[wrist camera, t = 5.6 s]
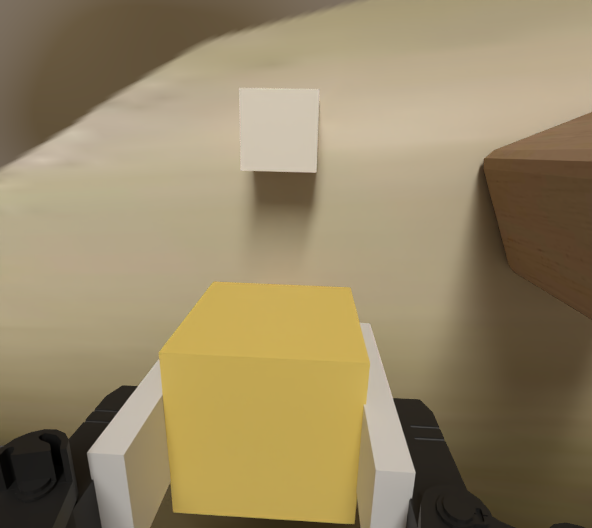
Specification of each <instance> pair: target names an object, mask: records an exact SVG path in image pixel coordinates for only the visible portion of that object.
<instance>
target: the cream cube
mask: <svg viewBox="0 0 592 528" xmlns="http://www.w3.org/2000/svg"><path fill="white" fill-rule="evenodd" d="M319 94H320V89H287V88H239V111H240V165H241V171H276V172H312V173H316V171H317V149H318V123H319Z"/></svg>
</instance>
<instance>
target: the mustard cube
mask: <svg viewBox="0 0 592 528" xmlns="http://www.w3.org/2000/svg"><path fill="white" fill-rule="evenodd" d="M159 361H160V372H161V383H162V394H163V405H164V416H165V427H166V438H167V448H168V458H169V468H170V478H171V493H172V504H173V512H175V513H190V514H205V515H220V516H236V517H251V518H266V519H281V520H297V521H312V522H327V523H342V524H354V523H355V513H356V503H357V492H356V490H357V478H358V466H359V455H360V443H361V431H362V420H363V408H364V404H366V401H367V391H368V380H369V370H370V360H369V357H368V353H367V349H366V345H365V342H364V338H363V334H362V330H361V326H360V323H359V319H358V315H357V311H356V307H355V304H354V300H353V296H352V292H351V288H349V287H325V286H301V285H278V284H254V283H231V282H213V283H212V284H211V285H210V287H209V288H208V289H207V291H206V292H205V293H204V294H203V296H202V297H201V298H200V300H199V301H198V302H197V304H196V305H195V306H194V307H193V309H192V310H191V311H190V313H189V314H188V315H187V317H186V318H185V319H184V320H183V322H182V323H181V324H180V326H179V327H178V328H177V330H176V331H175V332H174V333H173V335H172V336H171V337H170V339H169V340H168V341H167V343H166V344H165V345H164V346H163V348H162V349H161V350H160V352H159Z"/></svg>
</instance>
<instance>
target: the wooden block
mask: <svg viewBox="0 0 592 528" xmlns="http://www.w3.org/2000/svg"><path fill="white" fill-rule="evenodd" d="M483 168H484V172H485V176H486V180H487V184H488V188H489V192H490V195H491V199H492V203H493V207H494V211H495V214H496V218H497V222H498V226H499V230H500V233H501V237H502V241H503V245H504V249H505V252H506V256H507V260H508V264H509V266H510V268H511V269H512V270H513V271H514V272H515V273H516V274H518V275H520V276H521V277H523V278H524V279H526V280H528V281H529V282H531V283H533V284H534V285H536V286H538V287H539V288H541V289H543V290H544V291H546V292H547V293H549V294H551V295H552V296H554V297H556V298H557V299H559V300H561V301H562V302H564V303H566V304H567V305H569V306H570V307H572V308H574V309H575V310H577V311H579V312H580V313H582V314H584V315H585V316H587V317H588V318H590V319H592V112H591V113H589V114H586V115H584V116H581V117H578V118H576V119H573V120H571V121H568V122H566V123H563V124H560V125H558V126H555V127H553V128H550V129H548V130H545V131H542V132H540V133H537V134H535V135H532V136H530V137H527V138H525V139H522V140H519V141H517V142H514V143H512V144H509V145H507V146H504V147H501V148H499V149H496V150H494V151H493V152H492V153H490V154H489V155H488V156H487V157H486V158H485V159H484V167H483Z"/></svg>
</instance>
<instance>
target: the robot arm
mask: <svg viewBox="0 0 592 528" xmlns="http://www.w3.org/2000/svg"><path fill="white" fill-rule="evenodd" d="M360 326H361V330H362V334H363V338H364V342H365V345H366V349H367V353H368V357H369V360H370V370H369V380H368V391H367V401H366V404H364V408H363V420H362V431H361V443H360V455H359V466H358V478H357V490H356V492H357V501H358V510H359V518H360V527H361V528H515V527H512V526H510V525H507V524H505V523H503V522H501V521H499V520H497V519H496V518H494V517H492V515H491V513H490V511H489V510H488V509H487V507H486V506H485V505H484V504H483V503H482V501H481V500H480V499H478V498H477V497H476V496H474V495H473V494H471V493H470V492H469V491H467V489H466V487H465V484H464V482H463V480H462V478H461V475H460V473H459V471H458V469H457V466H456V464H455V462H454V460H453V457H452V455H451V453H450V451H449V448H448V446H447V444H446V442H444V437H443V435H442V433H441V430H440V429H439V426H438V423H437V421H436V419H435V417H434V414H433V412H432V411H431V410H430V409H429V408H428V407H427V406H426V405H425V404H424V403H423V402H422V401H421V400H418V399H398V398H393V397H392V394H391V391H390V388H389V384H388V381H387V378H386V374H385V371H384V368H383V365H382V361H381V358H380V355H379V352H378V348H377V345H376V342H375V338H374V335H373V332H372V329H371V325H370V323H360ZM170 482H171V478H170V468H169V458H168V448H167V438H166V427H165V416H164V405H163V394H162V383H161V372H160V361H159V360H158V361H157V362H156V364H155V365H154V366H153V367H152V369H151V370H150V371H149V373H148V374H147V375H146V377H145V378H144V379H143V380H142V382H141V383H140V384H139V386H121V387H119V388H118V389H116V390H115V391H113V392H112V393H110V394H109V395H107V396H106V397H105V398H104V399H103V400H102V402H101V403H100V404H99V405H98V406H97V407H96V408H95V411H94V412H92V413H91V414H90V415H89V416H88V418H87V419H86V421H85V423H84V422H83V423H82V425H81V426H80V427H79V428H78V429H77V430H76V431H75V433H74V434H73V435H72V436H71V437H70V438H69V439H68V438H67V436H66V434H65V433H64V432H61V431H59V430H51V429H44V430H39V431H35V432H30V433H28V434H25V435H23V436H20V437H18V438H16V439H14V440H12V441H11V442H9V443H8V444H6V445H4V446H3V447H1V448H0V528H150V526H151V524H152V522H153V520H154V517H155V515H156V513H157V511H158V508H159V506H160V504H161V502H162V499H163V497H164V495H165V493H166V490H167V488H168V486H169V484H170ZM550 528H584V527H582V526H578V525H574V524H570V523H559V524H553V525H552V526H551V527H550Z"/></svg>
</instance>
